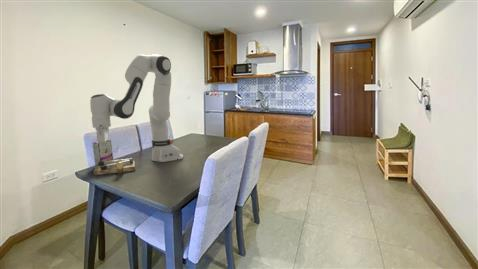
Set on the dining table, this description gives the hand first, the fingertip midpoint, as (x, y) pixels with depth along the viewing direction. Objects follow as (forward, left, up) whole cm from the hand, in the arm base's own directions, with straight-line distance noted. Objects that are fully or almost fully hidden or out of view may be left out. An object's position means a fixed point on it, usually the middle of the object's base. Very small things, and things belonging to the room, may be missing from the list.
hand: (104, 147), depth 134 cm
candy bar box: (+3, -23, -17) cm, 29 cm away
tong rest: (-4, -11, -17) cm, 21 cm away
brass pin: (-7, -1, -17) cm, 19 cm away
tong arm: (-4, -8, -14) cm, 17 cm away
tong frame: (-4, -14, -15) cm, 21 cm away
